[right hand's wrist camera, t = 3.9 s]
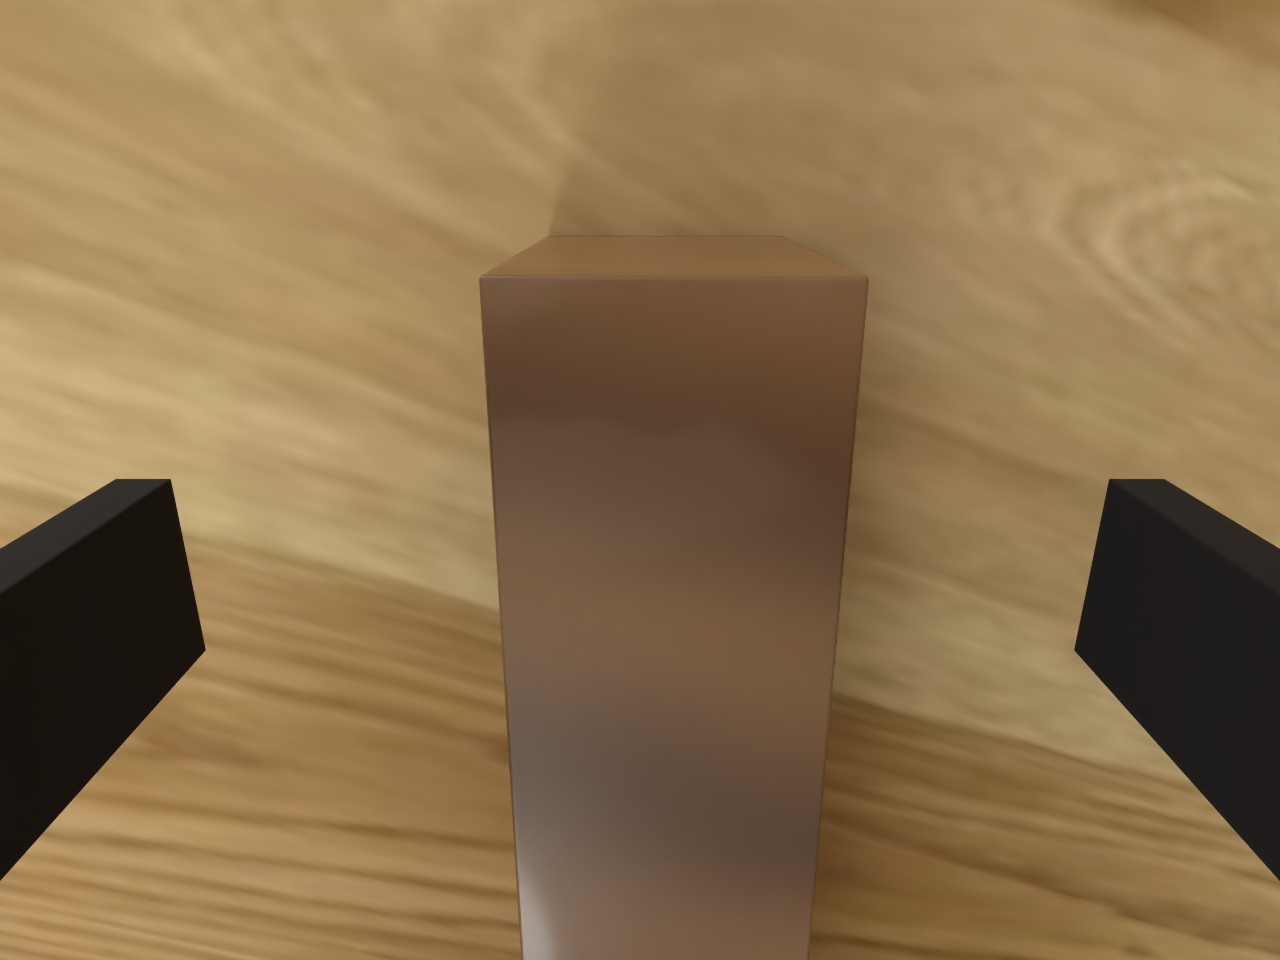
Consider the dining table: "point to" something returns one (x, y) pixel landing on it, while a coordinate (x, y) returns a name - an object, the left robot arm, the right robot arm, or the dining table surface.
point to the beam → (669, 583)
